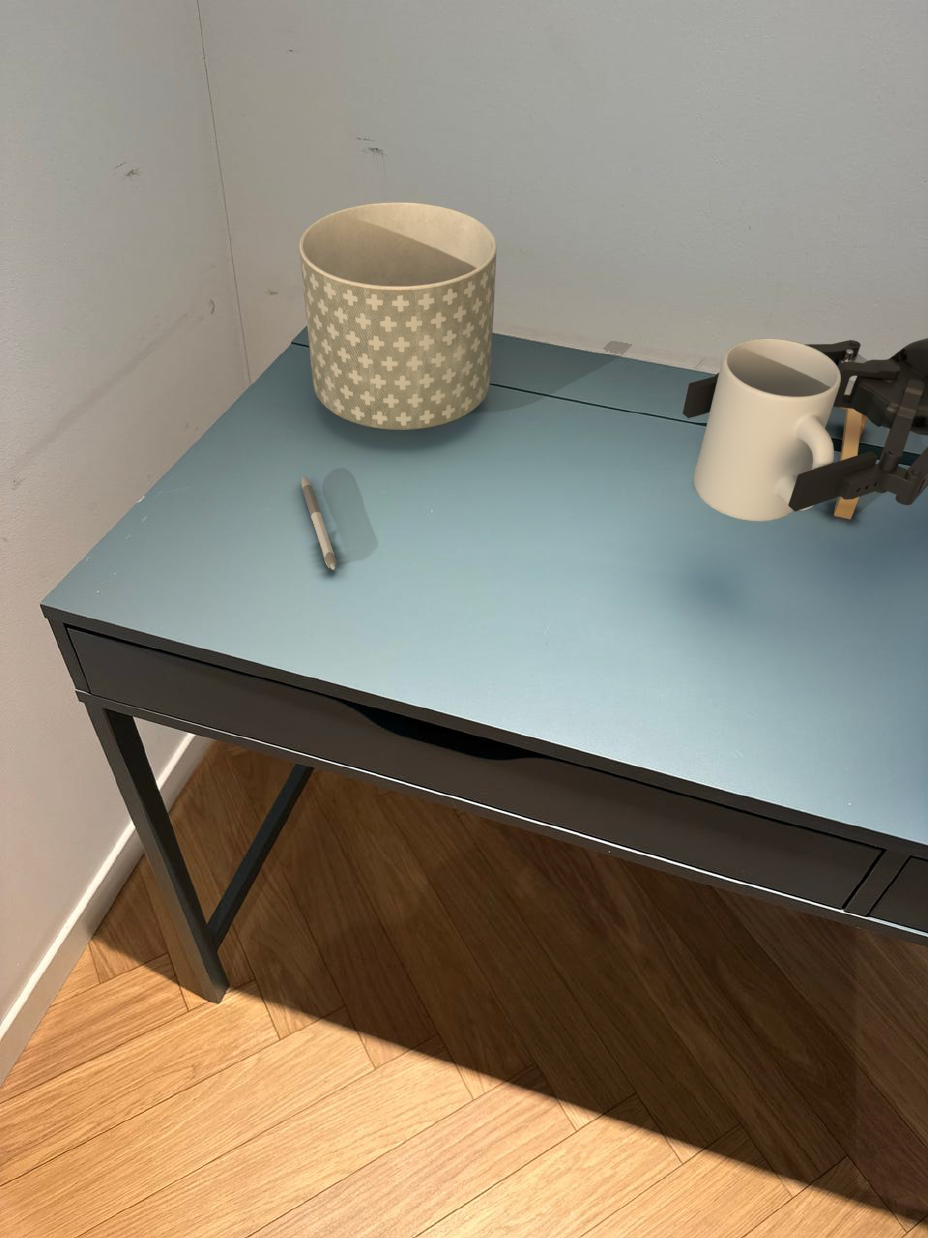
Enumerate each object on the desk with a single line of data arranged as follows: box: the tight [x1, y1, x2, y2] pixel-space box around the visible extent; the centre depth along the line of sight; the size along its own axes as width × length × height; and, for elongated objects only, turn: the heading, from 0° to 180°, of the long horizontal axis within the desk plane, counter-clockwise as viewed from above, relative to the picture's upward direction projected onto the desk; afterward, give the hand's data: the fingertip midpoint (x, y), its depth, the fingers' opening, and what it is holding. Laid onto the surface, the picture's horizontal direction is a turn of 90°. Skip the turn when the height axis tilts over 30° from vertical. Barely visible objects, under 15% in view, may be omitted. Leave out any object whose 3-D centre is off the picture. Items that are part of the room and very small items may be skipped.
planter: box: [298, 201, 498, 431], centre depth 99 cm, size 19×19×18 cm
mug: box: [693, 337, 841, 522], centre depth 72 cm, size 12×8×11 cm
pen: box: [300, 476, 337, 571], centre depth 90 cm, size 1×14×1 cm, turn 17°
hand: (739, 444), depth 70 cm, fingers closed on mug, 12 cm apart
